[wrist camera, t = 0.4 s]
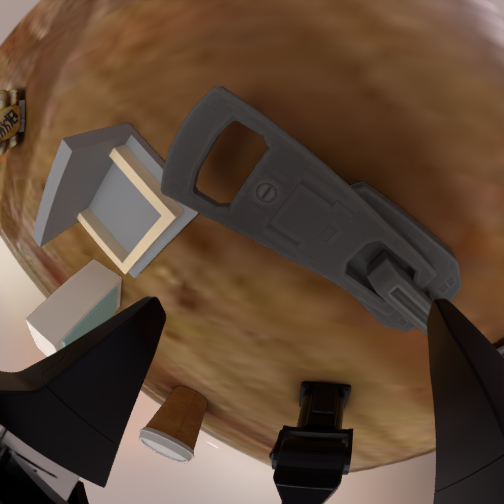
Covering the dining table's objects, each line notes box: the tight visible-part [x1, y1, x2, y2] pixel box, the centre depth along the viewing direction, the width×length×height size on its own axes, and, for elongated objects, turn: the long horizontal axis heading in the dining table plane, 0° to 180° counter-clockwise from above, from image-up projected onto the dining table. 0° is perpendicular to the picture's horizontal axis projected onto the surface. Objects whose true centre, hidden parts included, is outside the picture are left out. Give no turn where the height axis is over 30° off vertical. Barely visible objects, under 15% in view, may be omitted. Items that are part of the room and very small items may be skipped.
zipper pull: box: [160, 86, 462, 336], centre depth 18 cm, size 9×7×25 cm
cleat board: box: [33, 123, 198, 279], centre depth 22 cm, size 11×13×8 cm
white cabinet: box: [26, 259, 122, 356], centre depth 28 cm, size 6×6×13 cm
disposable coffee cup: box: [139, 386, 207, 463], centre depth 37 cm, size 10×10×12 cm
